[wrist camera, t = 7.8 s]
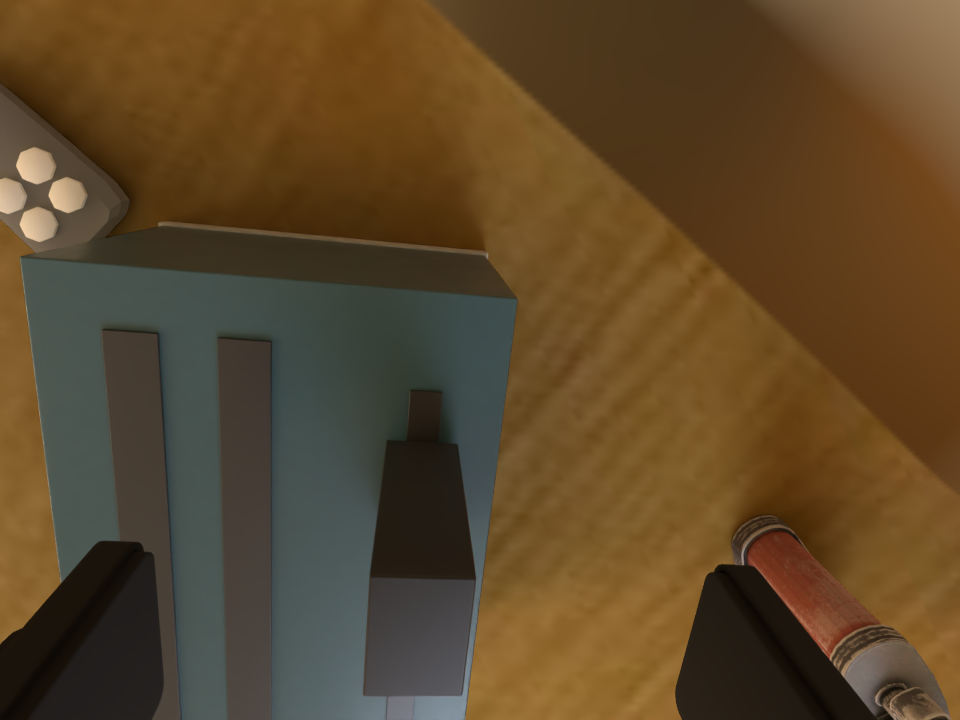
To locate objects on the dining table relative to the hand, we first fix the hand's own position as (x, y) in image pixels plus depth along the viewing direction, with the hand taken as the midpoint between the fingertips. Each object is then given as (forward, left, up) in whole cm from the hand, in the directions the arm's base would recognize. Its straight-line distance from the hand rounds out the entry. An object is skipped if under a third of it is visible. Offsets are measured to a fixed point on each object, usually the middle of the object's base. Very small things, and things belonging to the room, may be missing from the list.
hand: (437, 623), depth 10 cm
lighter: (-17, +9, -14) cm, 24 cm away
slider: (0, 0, -5) cm, 5 cm away
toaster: (+4, +3, -14) cm, 14 cm away
